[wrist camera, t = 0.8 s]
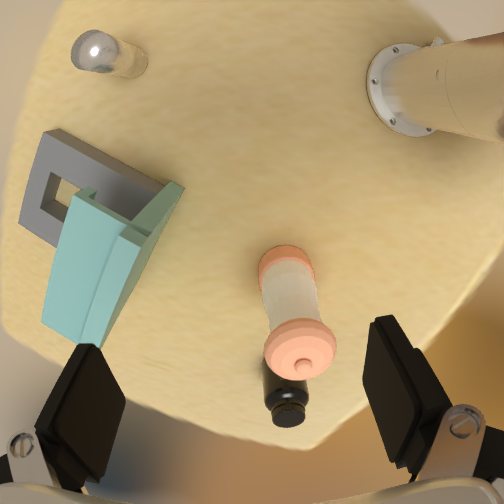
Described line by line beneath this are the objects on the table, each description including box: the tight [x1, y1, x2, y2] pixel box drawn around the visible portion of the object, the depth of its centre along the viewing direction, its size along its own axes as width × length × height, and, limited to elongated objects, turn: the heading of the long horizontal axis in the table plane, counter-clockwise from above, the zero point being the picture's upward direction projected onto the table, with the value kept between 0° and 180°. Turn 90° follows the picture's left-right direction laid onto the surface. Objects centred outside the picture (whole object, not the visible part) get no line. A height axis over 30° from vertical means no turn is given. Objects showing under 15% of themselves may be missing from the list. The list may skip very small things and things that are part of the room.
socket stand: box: [18, 129, 185, 350], centre depth 32 cm, size 16×20×18 cm
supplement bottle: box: [263, 360, 309, 428], centre depth 47 cm, size 7×7×12 cm
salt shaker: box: [258, 245, 337, 380], centre depth 36 cm, size 7×7×19 cm
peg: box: [71, 30, 148, 78], centre depth 27 cm, size 4×4×12 cm
